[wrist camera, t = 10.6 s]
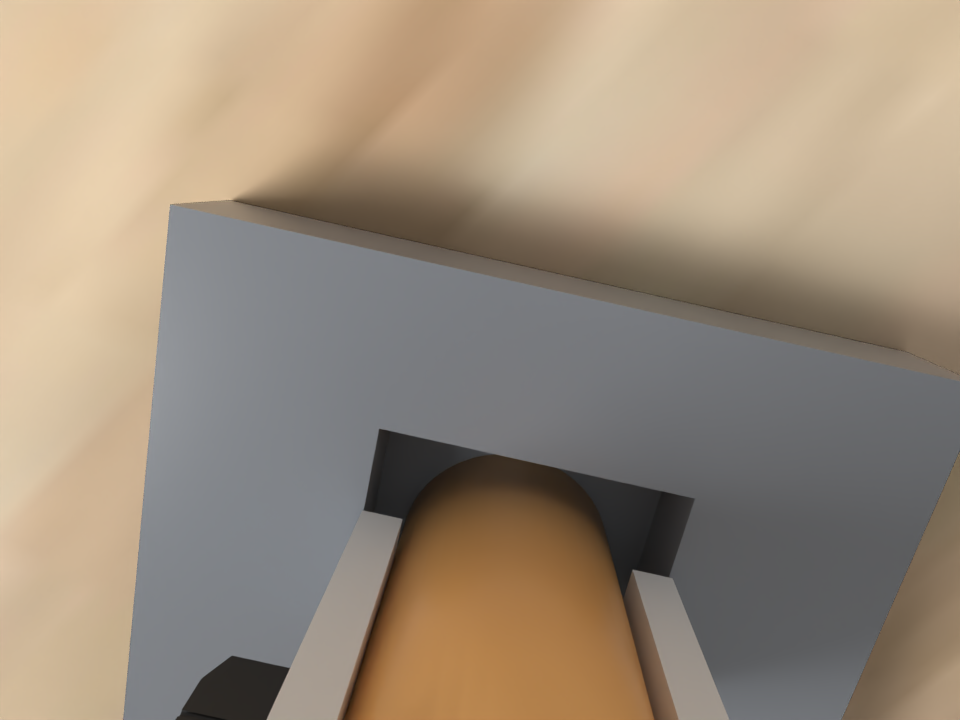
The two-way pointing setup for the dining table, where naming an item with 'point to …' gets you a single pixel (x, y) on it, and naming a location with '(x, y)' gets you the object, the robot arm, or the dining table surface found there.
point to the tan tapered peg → (501, 606)
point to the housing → (517, 447)
